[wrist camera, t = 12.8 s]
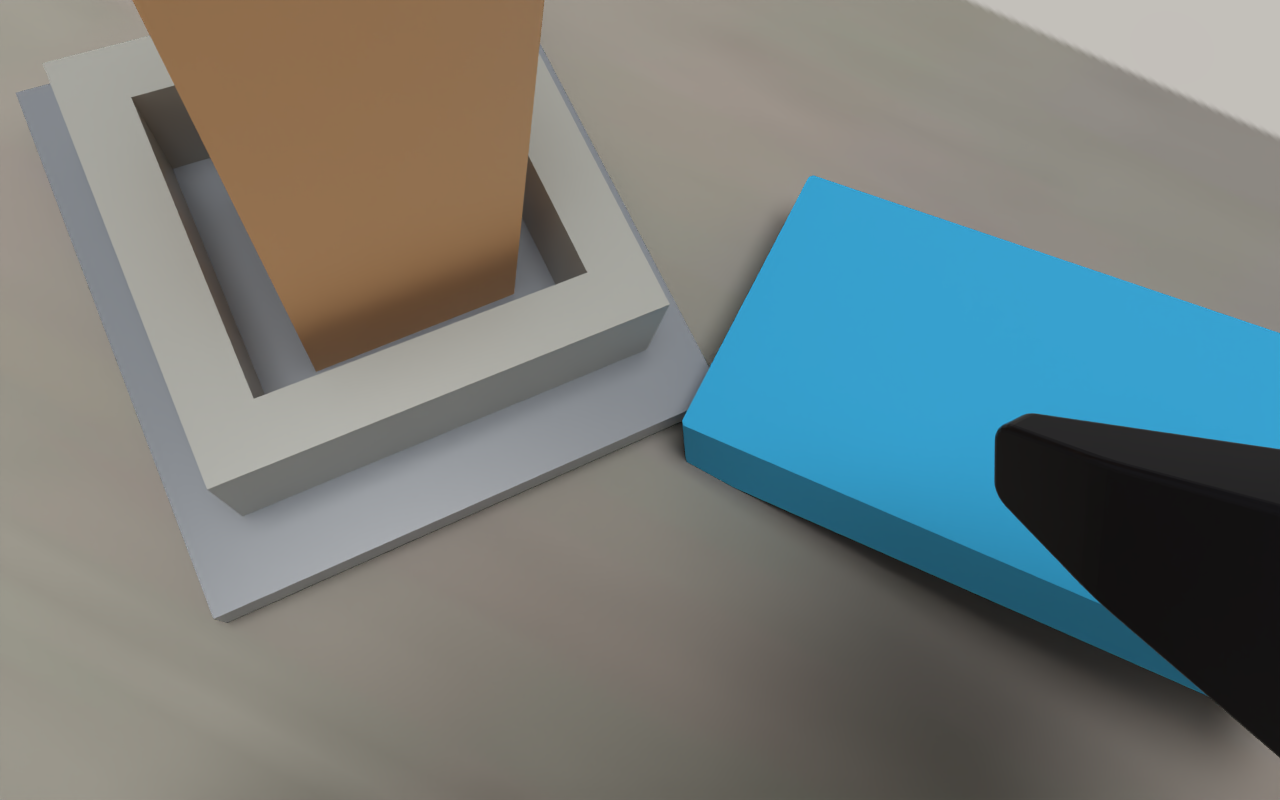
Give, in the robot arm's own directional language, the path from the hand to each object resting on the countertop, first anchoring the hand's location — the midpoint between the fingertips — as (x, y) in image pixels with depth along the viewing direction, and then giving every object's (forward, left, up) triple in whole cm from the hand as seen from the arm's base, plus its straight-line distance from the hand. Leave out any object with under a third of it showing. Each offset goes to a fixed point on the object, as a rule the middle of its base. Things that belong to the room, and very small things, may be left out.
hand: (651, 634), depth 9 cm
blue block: (+4, -12, -11) cm, 17 cm away
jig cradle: (+9, +4, -10) cm, 14 cm away
